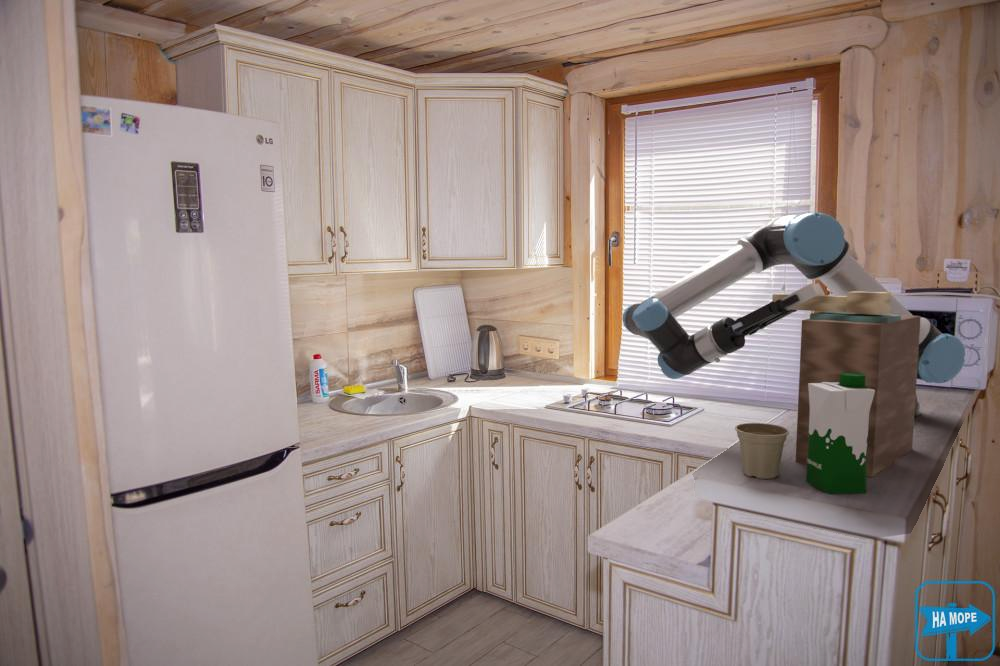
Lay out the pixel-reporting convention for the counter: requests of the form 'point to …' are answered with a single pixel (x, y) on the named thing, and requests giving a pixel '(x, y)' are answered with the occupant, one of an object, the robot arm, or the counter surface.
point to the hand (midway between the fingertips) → (817, 289)
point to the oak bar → (847, 303)
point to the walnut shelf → (887, 367)
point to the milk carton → (839, 434)
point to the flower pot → (761, 448)
